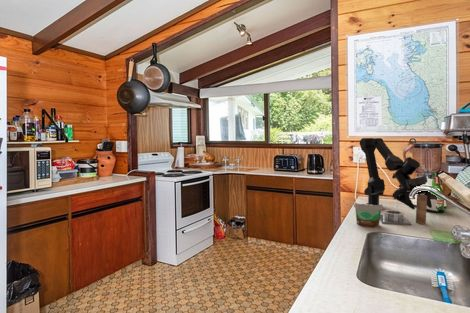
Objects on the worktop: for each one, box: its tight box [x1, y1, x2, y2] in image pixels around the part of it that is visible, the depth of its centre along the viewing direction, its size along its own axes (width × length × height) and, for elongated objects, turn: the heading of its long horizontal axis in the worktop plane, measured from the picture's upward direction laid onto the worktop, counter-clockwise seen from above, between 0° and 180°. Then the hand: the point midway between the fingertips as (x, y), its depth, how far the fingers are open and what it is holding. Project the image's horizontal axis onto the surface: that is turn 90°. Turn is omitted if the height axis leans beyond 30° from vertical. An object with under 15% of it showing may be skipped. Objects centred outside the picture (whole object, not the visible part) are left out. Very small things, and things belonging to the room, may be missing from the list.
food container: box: [353, 201, 384, 228], centre depth 138 cm, size 12×6×10 cm, turn 70°
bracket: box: [379, 209, 412, 226], centre depth 146 cm, size 12×12×4 cm
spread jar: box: [426, 188, 441, 213], centre depth 164 cm, size 12×11×12 cm
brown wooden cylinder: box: [415, 194, 427, 225], centre depth 141 cm, size 4×4×13 cm
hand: (422, 208), depth 140 cm, fingers open, 9 cm apart
